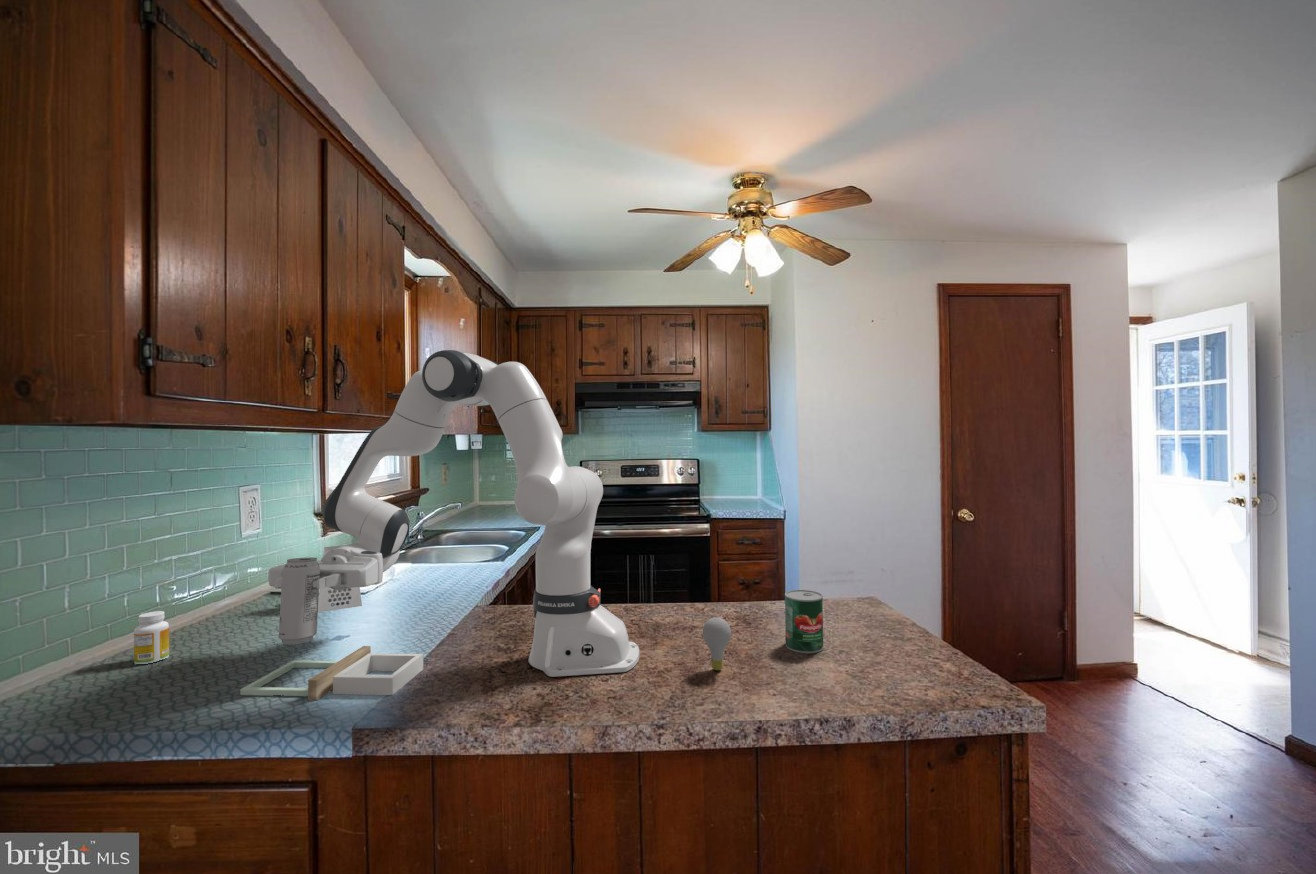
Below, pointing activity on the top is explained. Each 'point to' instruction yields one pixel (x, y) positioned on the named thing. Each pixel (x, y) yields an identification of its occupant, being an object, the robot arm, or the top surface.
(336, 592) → the grater
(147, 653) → the supplement bottle
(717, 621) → the light bulb
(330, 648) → the top surface
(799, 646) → the canned tomato
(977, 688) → the top surface
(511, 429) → the robot arm
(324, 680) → the rail
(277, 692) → the socket
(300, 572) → the energy drink can
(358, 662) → the socket
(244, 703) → the top surface
